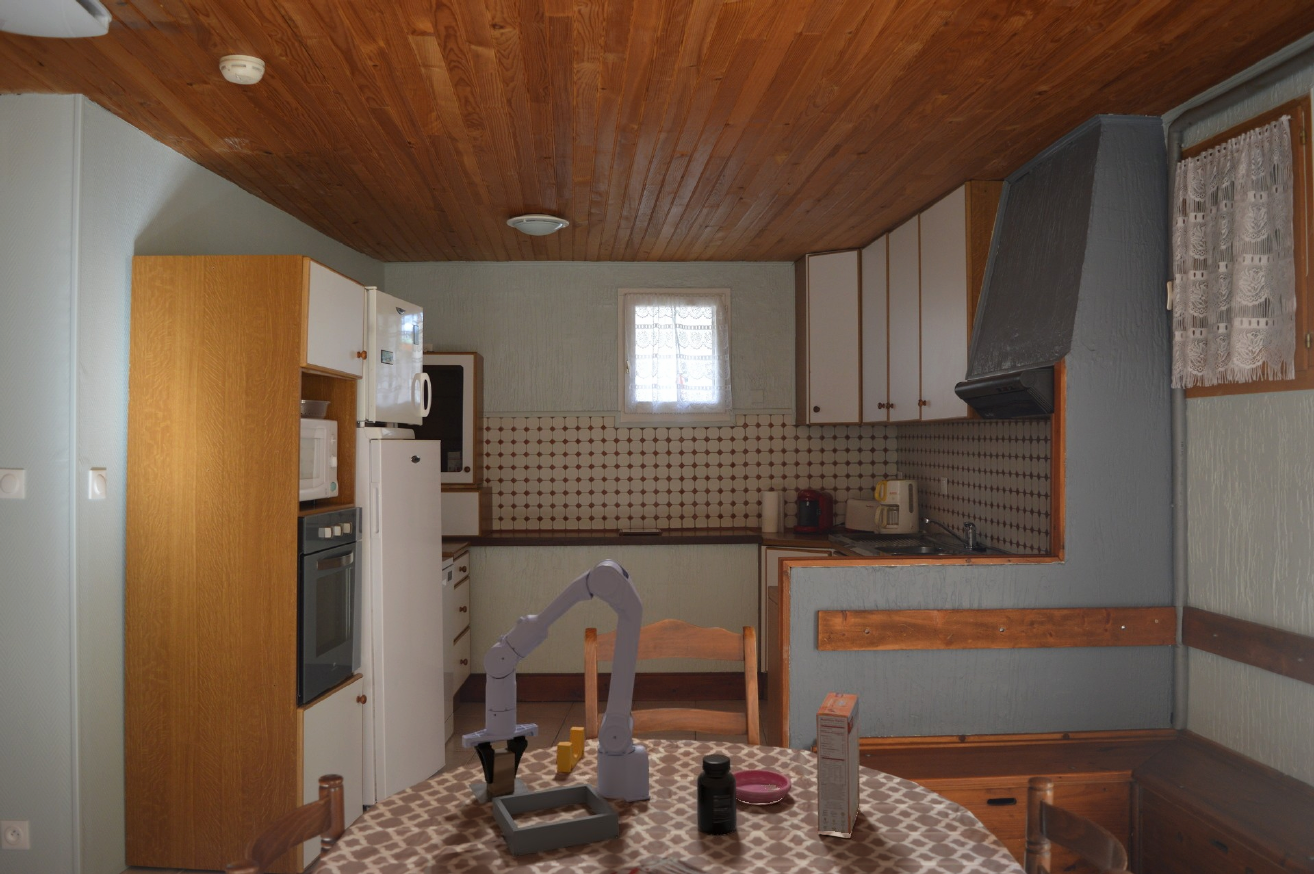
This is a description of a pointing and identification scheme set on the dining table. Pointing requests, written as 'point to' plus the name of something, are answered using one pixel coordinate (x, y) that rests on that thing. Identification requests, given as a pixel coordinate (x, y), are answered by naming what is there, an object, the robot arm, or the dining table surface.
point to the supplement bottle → (716, 796)
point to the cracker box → (838, 762)
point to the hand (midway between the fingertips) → (500, 779)
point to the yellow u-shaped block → (570, 750)
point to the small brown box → (503, 772)
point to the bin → (560, 831)
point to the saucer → (754, 792)
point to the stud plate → (486, 796)
